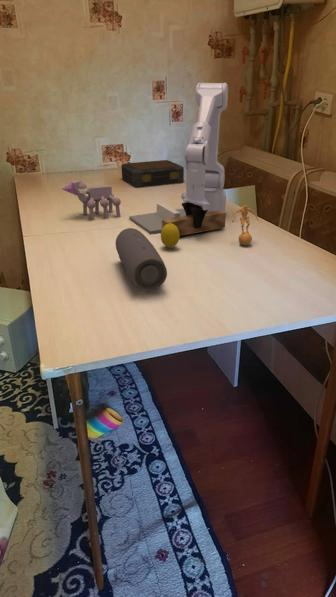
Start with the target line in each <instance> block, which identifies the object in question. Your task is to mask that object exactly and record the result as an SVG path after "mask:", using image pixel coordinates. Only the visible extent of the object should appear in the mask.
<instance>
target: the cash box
mask: <svg viewBox="0 0 336 597" xmlns="http://www.w3.org/2000/svg"><path fill="white" fill-rule="evenodd" d="M120 167H121V179H122V181H124V182H125V183H126V184H129V185H130V186H131V187H133V188H134V189H135V188H136V189H138V188H149V187H157V186H169V185H176V184H183V183H184V181H185V180H184V179H185V178H184V177H185V176H184V175H185V169H184V168H185V166H183V165H180V164H177V163H176V162H173V161H170V160H168V159H163V160H150V161H138V162H128V163H127V162H126V163H125V162H124V163H122V164H121V166H120Z"/></svg>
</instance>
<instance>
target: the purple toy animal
mask: <svg viewBox="0 0 336 597" xmlns="http://www.w3.org/2000/svg"><path fill="white" fill-rule="evenodd" d="M112 189H113V188H112V186H111V185H110V184H103V185H101V184H100V185H93V186H87V184H86V183H85V182H83V181H82V180H80V179H74V180H70V183H69V184H67V185H66V186H64V187H62V188H61V190H62V191H65V192H67V193H70V194H72V195H74V196H77V198H78V200H79V201H80V202H81V203H82V213H83V215H84V216H85V215H86V216H87V215H88V212H89V217H90V221H95V214H99V213H100V206H101V208H103V214H104V215H103V216H104V219H109V213H113V206H115V213H116V215H115V216H116V217H117V218H120V217H121V211H120V209H121V208H120V205H121V204H122V203H121V199H120V198H119V197H115V195H114V194H113V190H112ZM94 209H95V210H94ZM94 213H95V214H94Z"/></svg>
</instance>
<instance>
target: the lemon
mask: <svg viewBox="0 0 336 597" xmlns="http://www.w3.org/2000/svg"><path fill="white" fill-rule="evenodd" d="M179 240H180V236H179V230H178V228H177V227H176V226H175V225H174V224H172V223H169V224H166V225H165V226H164V227H163V228H162V231H161V233H160V241H161V243H162V244H163V245H164V246H165V247H167V248H168V249H172V248H173V247H175V246H177V244H178V243H179Z"/></svg>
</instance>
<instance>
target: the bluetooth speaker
mask: <svg viewBox="0 0 336 597" xmlns="http://www.w3.org/2000/svg"><path fill="white" fill-rule="evenodd" d="M115 249H116V252H117V254H118V259H119V260H120V262H121V266H122V267H123V268H124V271H125V272H126V273H127V275H128V276H129V277H130V279H131V281H132V282H133V284H135V286H136V287H138V288H139V289H140V290H142V291H145V292H146V291H154V290H157V289H159V288H160V287H161V286H162V285H163V284H164V283H165V282H166V279H167V277H168V271H167V267H166V265H165V262H164V260H163V258H162V257H161V255H160V254H159V252H158V251H157V249H156V247H155V246H154V245H153V244H152V242H151V241H150V240H149V239H148V237H147V236H146V235H145V234H144V233H143V232H142V231H140V230H138V229H137V228H134V227H133V228H132V227H129V228H128V227H127V228H125V229H123V230H121V231H120V232H119V234H117V237H116V239H115Z"/></svg>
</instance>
